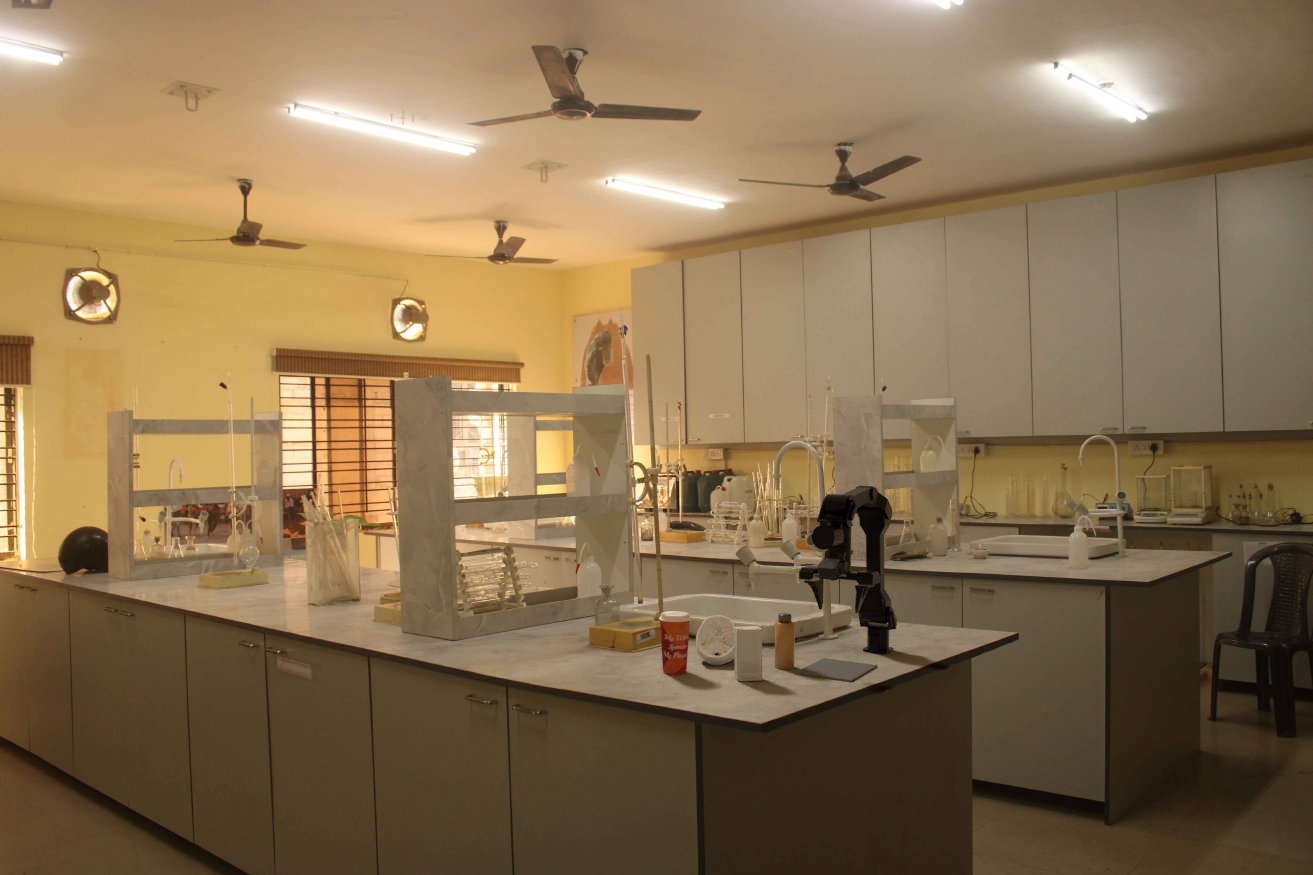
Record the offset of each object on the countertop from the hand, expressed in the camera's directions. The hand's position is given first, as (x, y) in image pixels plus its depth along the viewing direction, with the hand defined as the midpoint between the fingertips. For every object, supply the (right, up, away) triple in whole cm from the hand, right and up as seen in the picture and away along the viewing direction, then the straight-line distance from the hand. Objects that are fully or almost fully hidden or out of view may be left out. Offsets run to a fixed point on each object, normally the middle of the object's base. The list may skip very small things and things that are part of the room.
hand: (838, 611), depth 230 cm
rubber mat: (0, -15, +1) cm, 15 cm away
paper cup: (-39, -15, -1) cm, 42 cm away
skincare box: (-23, -15, -8) cm, 28 cm away
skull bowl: (-28, -15, +11) cm, 34 cm away
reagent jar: (-12, -15, +4) cm, 20 cm away
